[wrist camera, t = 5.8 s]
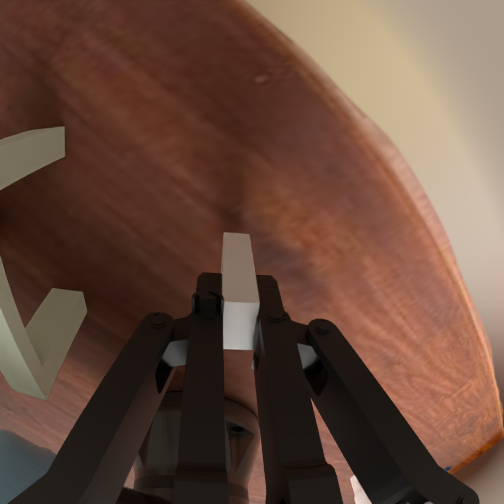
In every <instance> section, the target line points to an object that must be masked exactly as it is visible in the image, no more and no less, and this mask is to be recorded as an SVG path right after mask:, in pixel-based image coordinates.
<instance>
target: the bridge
mask: <svg viewBox="0 0 504 504" xmlns="http://www.w3.org/2000/svg"><path fill="white" fill-rule="evenodd" d="M63 157H65V126H64V127H53V128H44V129H36V130H29V131H26V132H22V133H19V134H16V135H13V136H9V137H6V138H3V139H0V190H2V189H3V188H5V187H7V186H9V185H10V184H12V183H14V182H16V181H17V180H19V179H21V178H23V177H25V176H27V175H29V174H31V173H32V172H34V171H36V170H38V169H40V168H42V167H44V166H46V165H48V164H50V163H52V162H54V161H56V160H59V159H61V158H63ZM87 312H88V311H87V307H86V303H85V299H84V295H83V292H80V291H72V290H64V289H56V288H52V289H51V291H50V292H49V293H48V295H47V296H46V298H45V299H44V301H43V302H42V303H41V305H40V306H39V308H38V309H37V311H36V312H35V314H34V315H33V317H32V318H31V320H30V321H29V323H28V324H27V326H26V328H24V325H23V323H22V320H21V318H20V315H19V312H18V310H17V307H16V304H15V301H14V299H13V296H12V293H11V290H10V287H9V284H8V280H7V277H6V274H5V271H4V267H3V264H2V260H1V256H0V370H1V372H2V374H3V375H4V377H5V379H6V380H7V382H8V384H9V385H10V387H11V388H12V390H15V391H18V392H21V393H24V394H27V395H30V396H33V397H36V398H40V399H43V400H47V399H48V396H49V394H50V391H51V389H52V386H53V384H54V382H55V379H56V377H57V375H58V372H59V370H60V368H61V366H62V363H63V361H64V359H65V357H66V355H67V352H68V350H69V348H70V346H71V344H72V342H73V340H74V338H75V336H76V334H77V332H78V330H79V328H80V326H81V324H82V322H83V320H84V318H85V316H86V314H87Z"/></svg>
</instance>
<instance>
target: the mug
mask: <svg viewBox="0 0 504 504" xmlns="http://www.w3.org/2000/svg"><path fill="white" fill-rule="evenodd" d="M350 480H351V483H352V487H353V490H354V494H355V498H354V499H355V503H356V504H372V503H371V502H370V500H369V499H368V497H367V495H366V494H365V492H364V490H363V489H362V487H361V485H360V483H359V482H358V480H357V478H356V476H355V475H353V476H352V477H351V479H350Z"/></svg>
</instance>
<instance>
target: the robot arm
mask: <svg viewBox="0 0 504 504" xmlns="http://www.w3.org/2000/svg"><path fill="white" fill-rule="evenodd" d="M253 344H254V355H253V361H252V366H251V369H254V375H255V385H256V395H257V405H258V415H259V424H258V420H257V418H256V417H255V416H254V414H253V413H252V412H251V411H249V410H248V409H247V408H245V407H243V406H242V405H240V404H238V403H235V402H233V401H230V400H227V399H224V360H223V349H235V350H252V349H253ZM185 364H186V366H185V376H184V386H183V392H168V393H166V390H167V388H168V386H169V384H170V382H171V380H172V378H173V375H174V373H175V371H176V369H177V366H180V365H185ZM310 397H311V398H310ZM311 399H312V401H313V402H314V404H315V406H316V408H317V409H318V411H319V413H320V415H321V417H322V418H323V420H324V422H325V424H326V426H327V427H328V429H329V431H330V433H331V434H332V436H333V438H334V440H335V441H336V443H337V445H338V447H339V449H340V450H341V452H342V454H343V456H344V457H345V459H346V461H347V463H348V464H349V466H350V468H351V470H352V471H353V473H354V475H355V476H356V478H357V480H358V482H359V483H360V485H361V487H362V489H363V490H364V492H365V494H366V495H367V497H368V499H369V500H370V502H371V503H372V504H479V498H478V495H477V494H476V493H475V491H473V490H472V489H471V488H469V487H468V486H467V485H465V484H464V483H462V482H461V481H459V480H458V479H456V478H455V477H454V476H452V475H451V474H449V473H448V472H447V471H445V470H444V469H442V468H441V467H440V466H438V465H437V463H436V462H435V460H434V459H433V457H432V456H431V455H430V453H429V452H428V450H427V449H426V448H425V446H424V445H423V443H422V442H421V440H420V439H419V438H418V436H417V435H416V433H415V432H414V431H413V429H412V428H411V427H410V425H409V424H408V422H407V421H406V420H405V418H404V417H403V415H402V414H401V413H400V411H399V410H398V409H397V407H396V406H395V404H394V403H393V402H392V400H391V399H390V398H389V396H388V395H387V394H386V392H385V391H384V389H383V388H382V387H381V385H380V384H379V383H378V381H377V380H376V379H375V377H374V376H373V375H372V373H371V372H370V371H369V369H368V368H367V366H366V365H365V364H364V362H363V361H362V360H361V358H360V357H359V356H358V354H357V353H356V352H355V350H354V349H353V348H352V346H351V345H350V344H349V342H348V341H347V340H346V338H345V337H344V336H343V335H342V333H341V332H340V331H339V329H338V328H337V327H336V325H334V324H333V323H332V322H330V321H328V320H325V319H314V320H312V321H311V322H310V323H309V324H308V325H304V324H300V323H297V322H294V321H292V320H291V318H290V316H289V314H288V313H286V312H285V311H284V308H283V304H282V300H281V296H280V292H279V289H278V284H277V281H276V280H275V279H274V278H273V277H272V276H269V275H255V268H254V261H253V255H252V248H251V242H250V235H249V234H241V233H227V232H224V235H223V248H222V262H221V273H205V272H203V273H202V274H201V275H200V276H199V277H198V280H197V287H196V293H194V294H193V296H192V313H191V314H190V315H188V316H187V317H184V318H181V319H175V320H173V318H172V317H171V316H170V315H168V314H165V313H160V312H157V313H152V314H149V315H147V316H146V317H145V318H144V319H143V320H142V322H141V323H140V325H139V326H138V328H137V329H136V331H135V332H134V333H133V335H132V336H131V338H130V339H129V341H128V342H127V344H126V345H125V347H124V348H123V350H122V351H121V353H120V354H119V356H118V357H117V359H116V360H115V362H114V363H113V365H112V366H111V368H110V369H109V371H108V373H107V374H106V376H105V377H104V379H103V380H102V382H101V383H100V385H99V387H98V388H97V390H96V391H95V393H94V394H93V396H92V398H91V399H90V401H89V402H88V404H87V406H86V407H85V409H84V410H83V412H82V414H81V415H80V417H79V418H78V420H77V422H76V423H75V425H74V427H73V428H72V430H71V432H70V433H69V435H68V437H67V438H66V440H65V442H64V443H63V445H62V447H61V449H60V450H59V452H58V454H57V455H56V454H55V453H54V452H52V451H51V450H49V449H47V448H43V447H39V446H37V445H35V444H33V443H32V442H30V441H28V440H26V439H24V438H23V437H21V436H19V435H17V434H16V433H14V432H12V431H9V430H0V504H249V497H248V482H249V479H250V475H251V472H252V469H253V465H254V462H255V458H256V455H257V451H258V448H259V444H260V434H261V444H262V453H263V463H264V472H265V481H266V504H343V501H342V496H341V492H340V488H339V483H338V479H337V475H336V472H335V469H334V468H333V466H332V465H330V464H328V463H327V462H326V460H325V457H324V453H323V448H322V444H321V440H320V436H319V431H318V427H317V423H316V419H315V415H314V410H313V406H312V402H311ZM259 425H260V433H259ZM132 465H133V468H134V472H135V480H134V489H131V488H128V487H125V486H123V485H124V483H125V481H126V479H127V476H128V474H129V472H130V470H131V467H132Z"/></svg>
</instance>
